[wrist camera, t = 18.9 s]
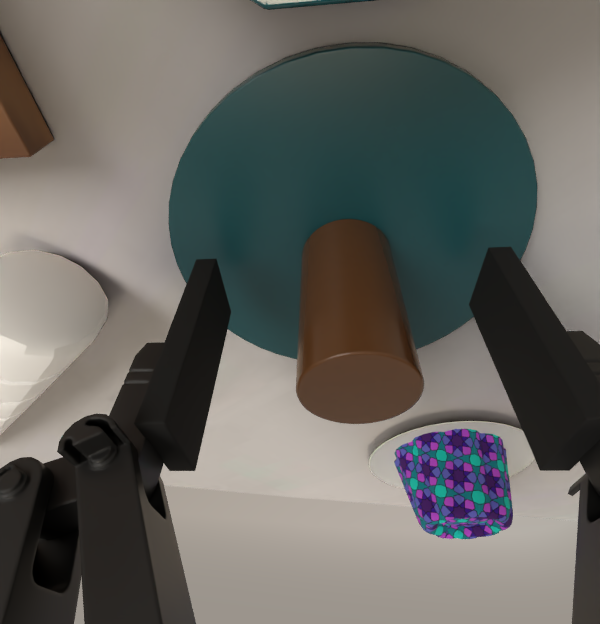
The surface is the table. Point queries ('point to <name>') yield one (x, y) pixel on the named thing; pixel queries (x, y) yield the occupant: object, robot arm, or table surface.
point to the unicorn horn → (42, 324)
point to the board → (18, 113)
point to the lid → (353, 214)
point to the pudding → (456, 474)
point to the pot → (298, 3)
